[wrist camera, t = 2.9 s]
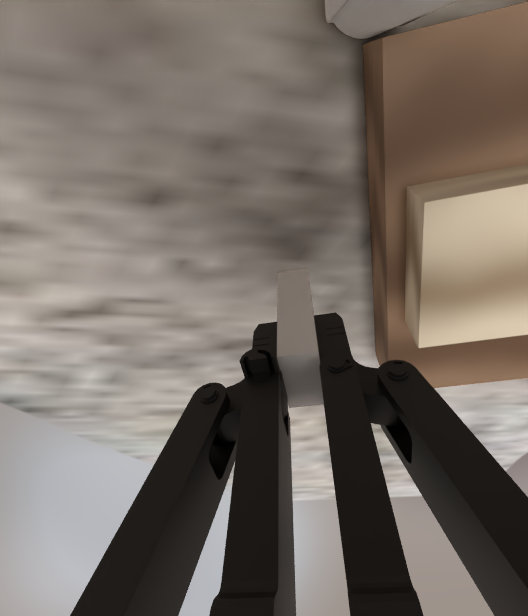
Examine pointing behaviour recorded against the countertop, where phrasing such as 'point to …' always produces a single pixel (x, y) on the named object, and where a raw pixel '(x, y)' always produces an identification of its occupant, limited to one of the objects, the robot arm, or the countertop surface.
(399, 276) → the board
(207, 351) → the countertop surface
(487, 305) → the birch tile
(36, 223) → the countertop surface
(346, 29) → the photo printer
